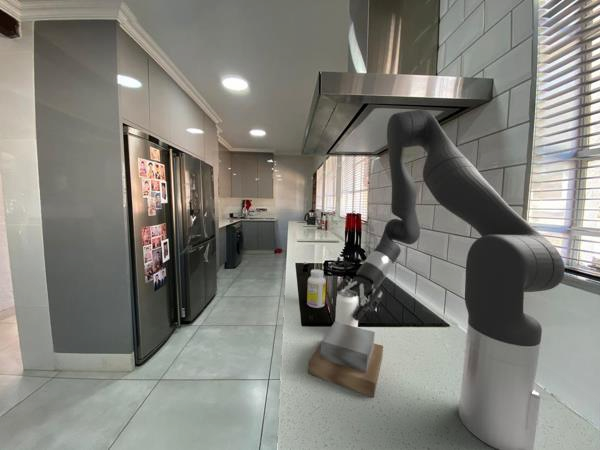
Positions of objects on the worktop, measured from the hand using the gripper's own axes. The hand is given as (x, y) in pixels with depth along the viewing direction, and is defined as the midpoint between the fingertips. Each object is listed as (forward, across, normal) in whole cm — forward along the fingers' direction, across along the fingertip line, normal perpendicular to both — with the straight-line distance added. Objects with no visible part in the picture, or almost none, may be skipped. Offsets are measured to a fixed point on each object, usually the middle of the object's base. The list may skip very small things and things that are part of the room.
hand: (344, 312), depth 69 cm
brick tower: (+10, +11, -1) cm, 15 cm away
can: (+4, 0, +5) cm, 7 cm away
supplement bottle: (+2, -20, +8) cm, 22 cm away
